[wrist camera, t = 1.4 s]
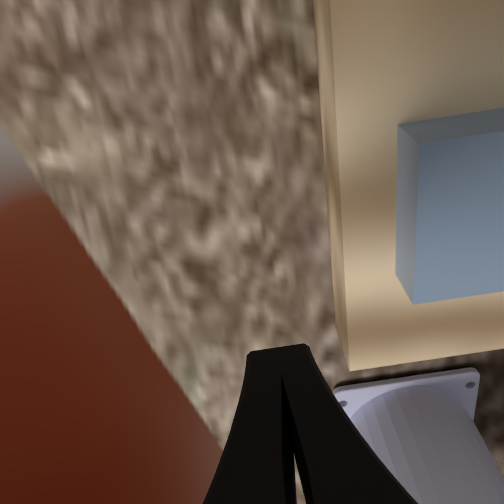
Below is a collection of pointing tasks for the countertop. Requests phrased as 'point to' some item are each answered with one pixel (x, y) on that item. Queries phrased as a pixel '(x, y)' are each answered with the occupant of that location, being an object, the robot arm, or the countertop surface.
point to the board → (385, 161)
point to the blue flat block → (450, 206)
